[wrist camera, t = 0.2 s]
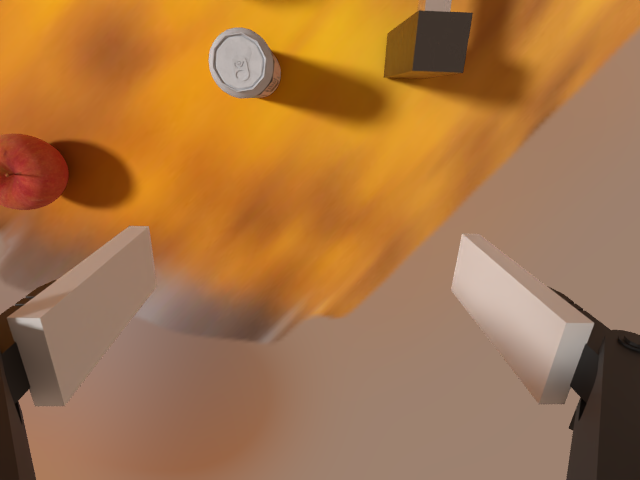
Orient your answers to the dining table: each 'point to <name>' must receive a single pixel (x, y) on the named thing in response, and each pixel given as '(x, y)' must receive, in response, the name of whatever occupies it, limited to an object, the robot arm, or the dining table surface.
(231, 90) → the beer can
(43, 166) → the apple
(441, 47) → the shaft
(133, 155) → the dining table surface
